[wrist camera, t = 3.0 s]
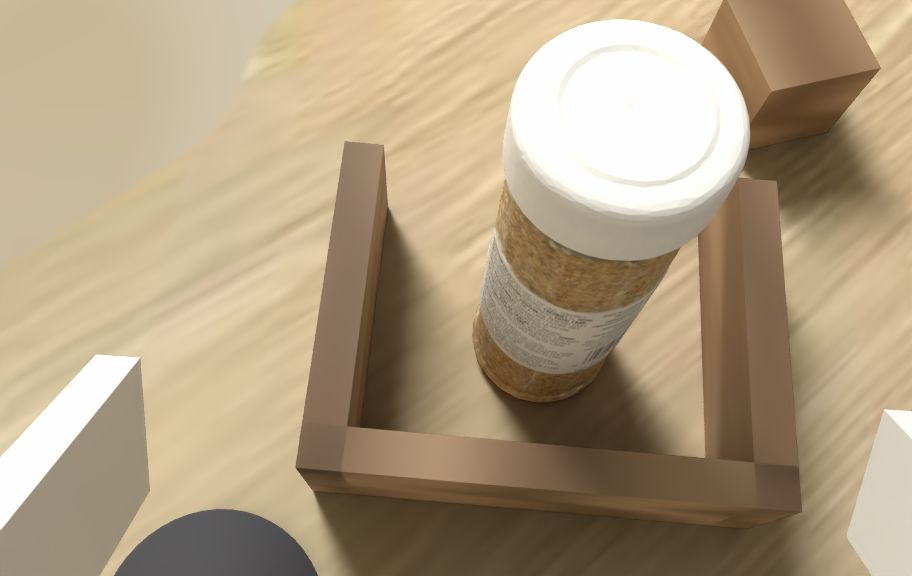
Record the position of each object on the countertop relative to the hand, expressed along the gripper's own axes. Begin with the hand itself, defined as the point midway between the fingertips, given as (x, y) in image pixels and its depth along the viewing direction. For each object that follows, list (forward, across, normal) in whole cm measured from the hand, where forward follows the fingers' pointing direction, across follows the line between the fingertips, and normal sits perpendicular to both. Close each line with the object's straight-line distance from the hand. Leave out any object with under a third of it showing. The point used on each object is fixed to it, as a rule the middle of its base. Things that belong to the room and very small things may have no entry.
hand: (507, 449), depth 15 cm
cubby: (+12, +2, -4) cm, 13 cm away
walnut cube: (+20, +10, +4) cm, 22 cm away
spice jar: (+13, +2, -4) cm, 13 cm away
